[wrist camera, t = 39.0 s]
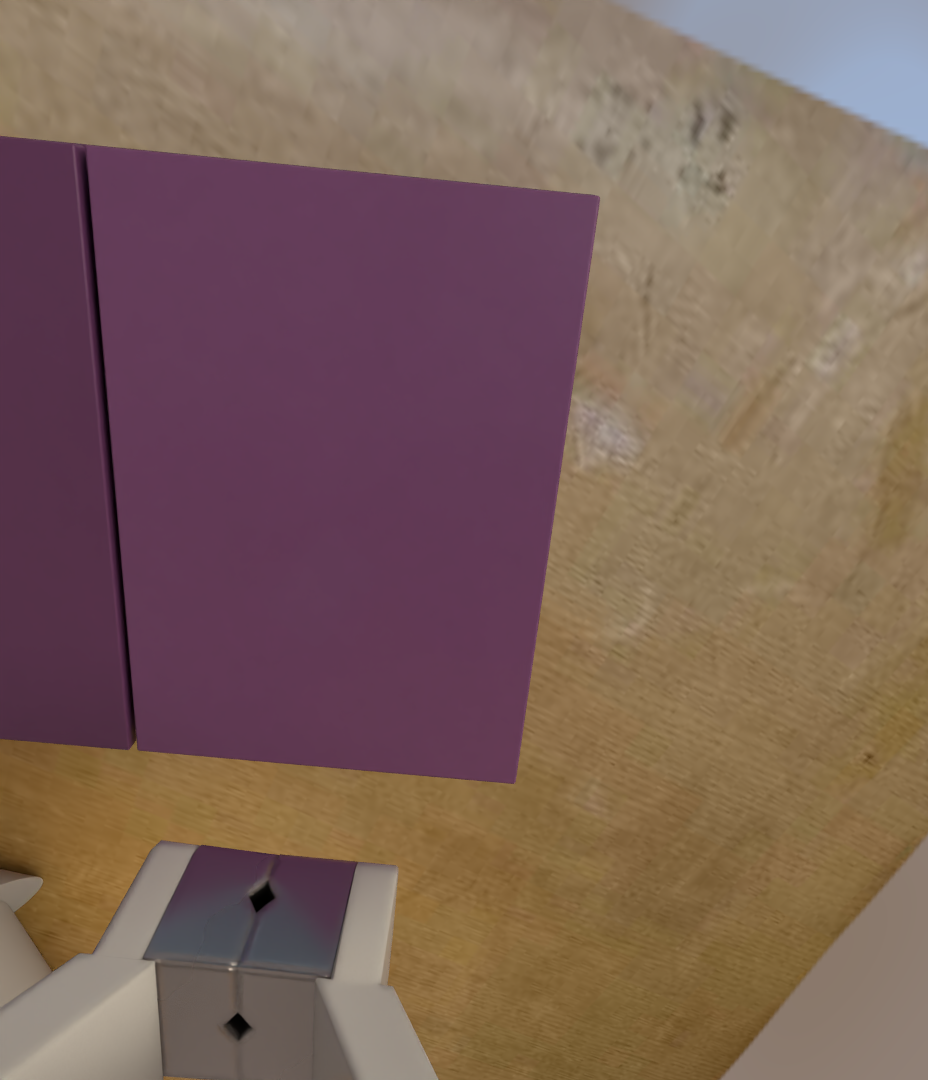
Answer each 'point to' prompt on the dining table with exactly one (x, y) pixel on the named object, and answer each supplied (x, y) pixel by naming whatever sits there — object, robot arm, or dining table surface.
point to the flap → (334, 453)
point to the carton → (57, 465)
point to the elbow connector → (17, 938)
